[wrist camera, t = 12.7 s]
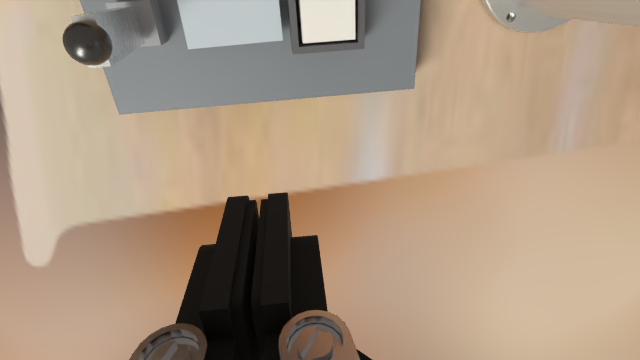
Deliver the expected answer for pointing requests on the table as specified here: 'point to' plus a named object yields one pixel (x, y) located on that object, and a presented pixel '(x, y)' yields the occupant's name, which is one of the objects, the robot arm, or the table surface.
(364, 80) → the switch panel
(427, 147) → the table surface
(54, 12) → the table surface
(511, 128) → the table surface
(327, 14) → the push button
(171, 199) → the table surface
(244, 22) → the rocker switch
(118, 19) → the toggle lever
